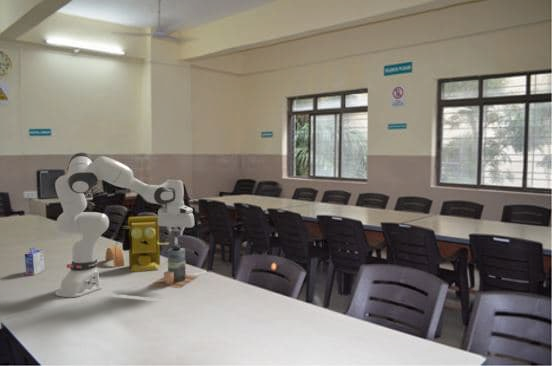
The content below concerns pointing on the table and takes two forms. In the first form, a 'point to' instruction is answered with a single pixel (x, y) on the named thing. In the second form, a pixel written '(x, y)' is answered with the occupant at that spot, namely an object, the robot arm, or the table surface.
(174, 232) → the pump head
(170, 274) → the pink egg shape
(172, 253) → the stand
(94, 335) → the table surface
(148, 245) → the vintage telephone
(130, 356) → the table surface
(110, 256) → the arch
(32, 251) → the ink cartridge box
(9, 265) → the table surface
